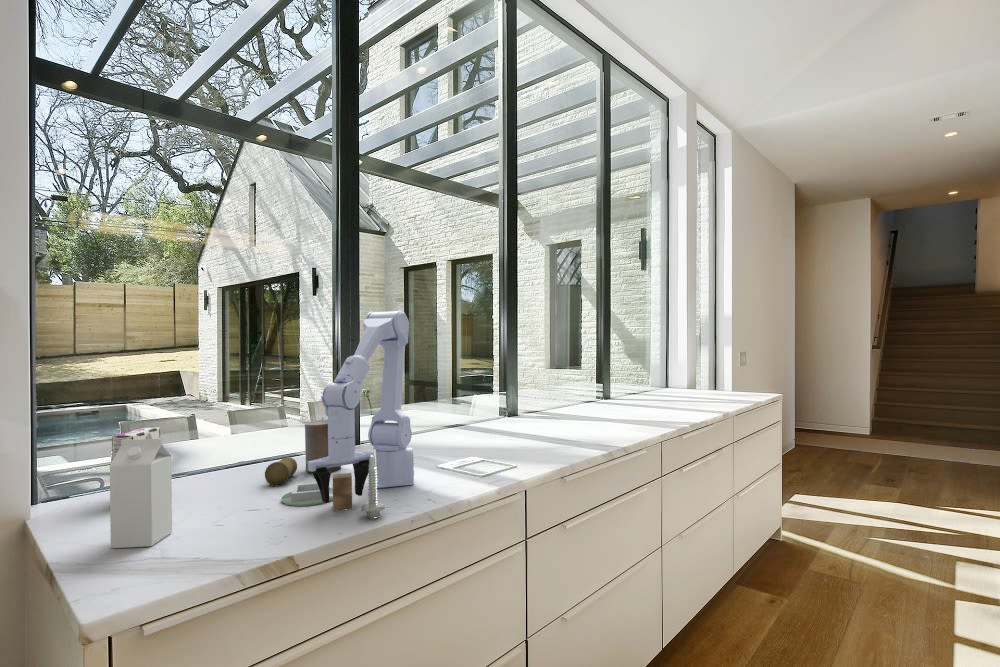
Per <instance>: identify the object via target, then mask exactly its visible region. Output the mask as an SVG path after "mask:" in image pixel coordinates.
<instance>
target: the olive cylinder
mask: <svg viewBox="0 0 1000 667" xmlns="http://www.w3.org/2000/svg"><path fill="white" fill-rule="evenodd" d="M297 470H298V464H297V461H296V459H295V458H293V457H290V456H289V457H288V456H287V457H284V458H281V459H280V460H278V461H276V462H272V463H270V464H268V466H267V467H266V469H265V470H264V471H265V472H264V477H265V480H266V482H267V483H268V484H269V485H271V486H273V487H274V486H275V487H277V486H276V485H280V486H281V485H284V484H285V483H286V482H287V481H288V479H289V477H292V476H293V475H294V474H295V473H297Z"/></svg>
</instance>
